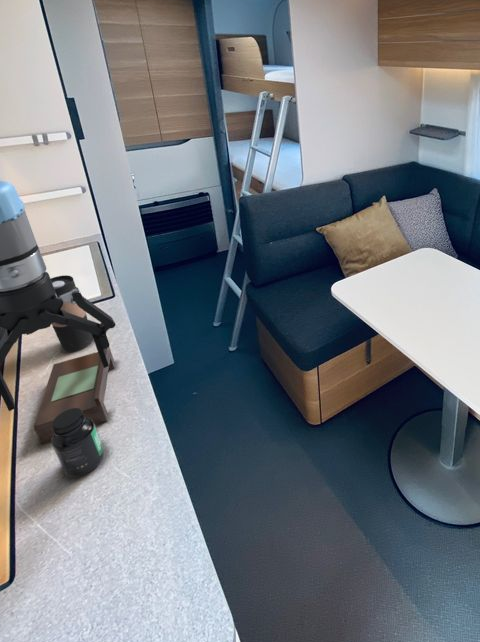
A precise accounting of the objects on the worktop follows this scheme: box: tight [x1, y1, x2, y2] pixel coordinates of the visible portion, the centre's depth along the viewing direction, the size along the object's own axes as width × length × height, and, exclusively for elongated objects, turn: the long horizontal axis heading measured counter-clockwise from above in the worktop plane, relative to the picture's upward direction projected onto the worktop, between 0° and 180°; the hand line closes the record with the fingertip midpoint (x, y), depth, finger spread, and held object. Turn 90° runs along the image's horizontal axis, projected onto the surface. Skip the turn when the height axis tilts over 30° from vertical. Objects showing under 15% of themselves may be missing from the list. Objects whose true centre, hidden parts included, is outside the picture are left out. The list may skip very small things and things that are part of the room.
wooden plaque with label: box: [33, 346, 116, 444], centre depth 95 cm, size 12×20×7 cm, turn 26°
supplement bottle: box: [50, 408, 106, 478], centre depth 80 cm, size 7×7×12 cm
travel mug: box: [50, 274, 94, 353], centre depth 111 cm, size 8×8×20 cm
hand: (61, 383), depth 72 cm, fingers open, 13 cm apart
